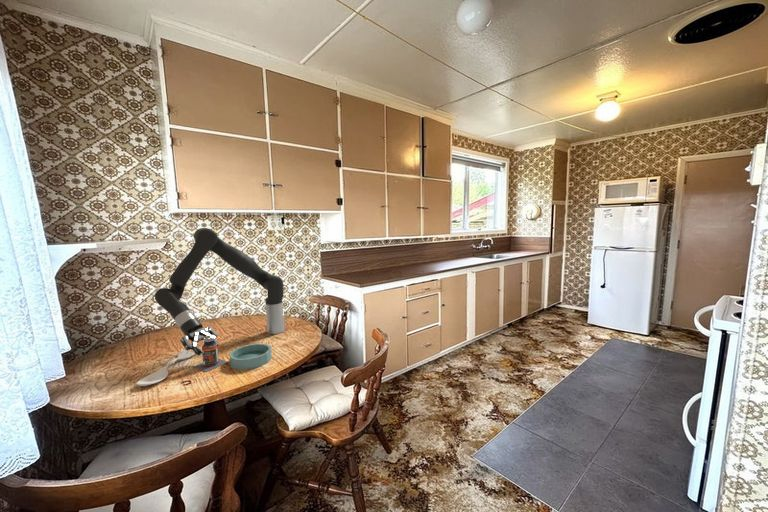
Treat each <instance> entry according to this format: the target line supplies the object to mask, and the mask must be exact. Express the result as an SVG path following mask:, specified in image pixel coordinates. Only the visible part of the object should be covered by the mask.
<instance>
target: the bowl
mask: <svg viewBox="0 0 768 512" xmlns="http://www.w3.org/2000/svg"><path fill="white" fill-rule="evenodd" d="M272 358H273V356H272V346H271V345H270V344H266V343H252V344H247V345H242V346H240V347H238V348H235V349H234V350H232V351H231V352H230V354H229V365H230V367H231V368H232V369H234V370H238V371H239V370H243V371H245V370H252V369H253V370H254V369H256V368H261V367H263V366H264V365H266V364H268V363H269V362H270V361H271V360H272Z"/></svg>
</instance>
